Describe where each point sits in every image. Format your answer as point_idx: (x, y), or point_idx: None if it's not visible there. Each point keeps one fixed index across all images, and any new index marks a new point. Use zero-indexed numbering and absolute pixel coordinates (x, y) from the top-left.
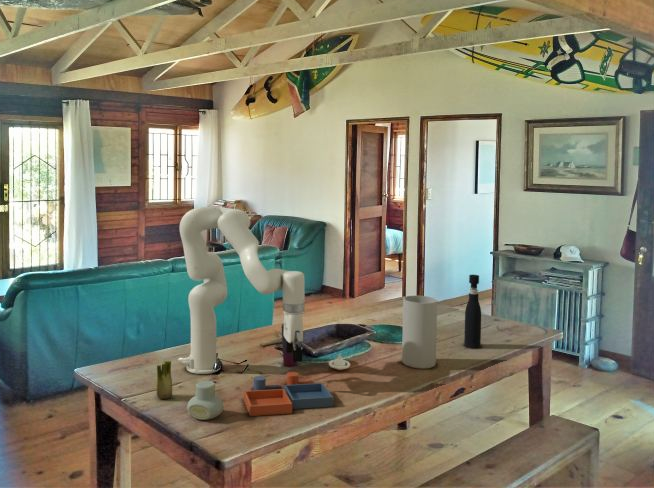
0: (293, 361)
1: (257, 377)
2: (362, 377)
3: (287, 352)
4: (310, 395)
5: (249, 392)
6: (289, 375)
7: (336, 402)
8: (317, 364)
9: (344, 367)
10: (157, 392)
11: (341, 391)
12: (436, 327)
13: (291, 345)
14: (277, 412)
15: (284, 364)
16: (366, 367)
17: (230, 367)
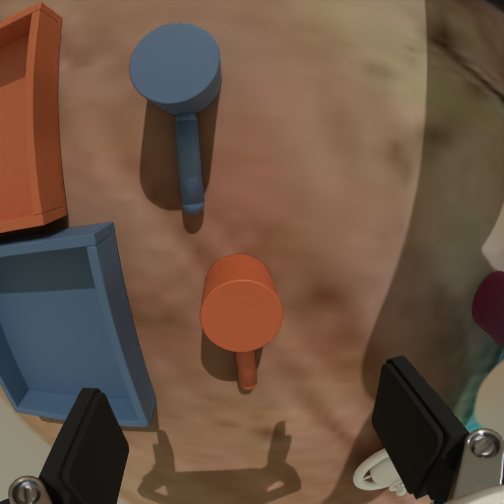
0: (85, 388)
1: (185, 46)
2: (294, 498)
3: (382, 366)
4: (86, 347)
5: (32, 30)
6: (211, 293)
7: None
8: (450, 395)
9: (354, 481)
10: None
11: (166, 450)
12: None
13: (406, 445)
14: None
15: (492, 274)
16: (368, 498)
17: (486, 26)
